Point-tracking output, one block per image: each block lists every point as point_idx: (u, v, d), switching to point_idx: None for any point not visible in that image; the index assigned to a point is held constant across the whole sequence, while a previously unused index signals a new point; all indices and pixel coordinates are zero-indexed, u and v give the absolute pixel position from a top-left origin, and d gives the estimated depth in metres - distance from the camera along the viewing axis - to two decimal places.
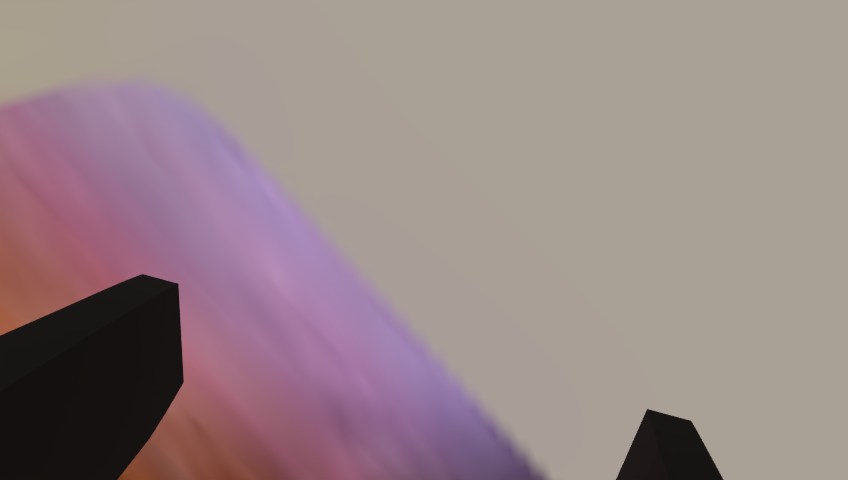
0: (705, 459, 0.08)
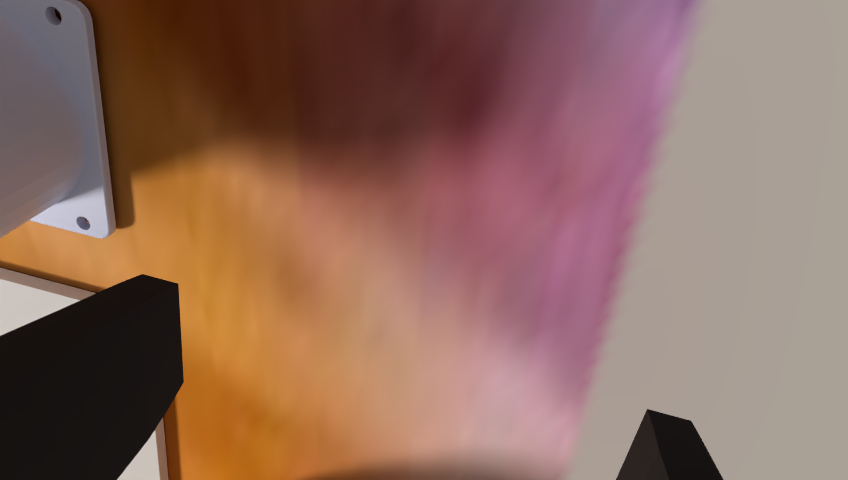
0: (705, 459, 0.08)
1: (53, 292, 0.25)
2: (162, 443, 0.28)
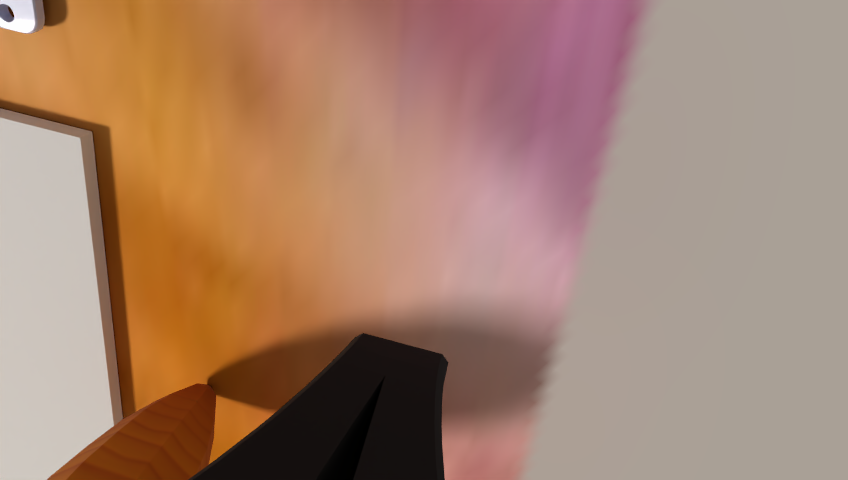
0: (429, 383, 0.09)
1: None
2: (107, 306, 0.25)
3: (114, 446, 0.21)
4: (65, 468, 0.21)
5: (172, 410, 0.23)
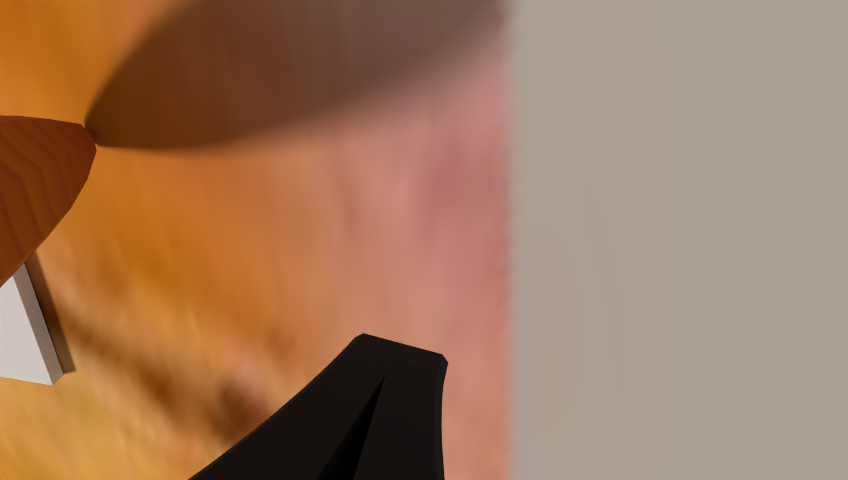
0: (429, 384, 0.09)
1: None
2: None
3: None
4: None
5: (6, 117, 0.17)
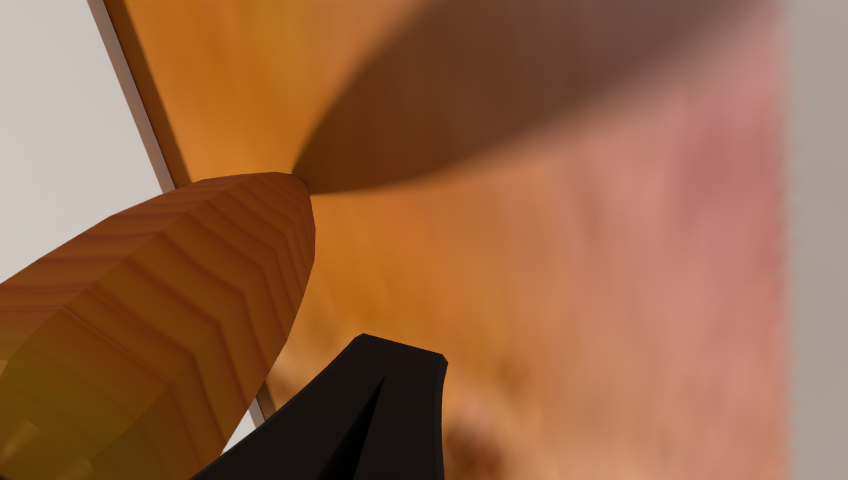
0: (429, 383, 0.09)
1: None
2: (139, 106, 0.19)
3: (158, 200, 0.14)
4: None
5: (240, 176, 0.16)
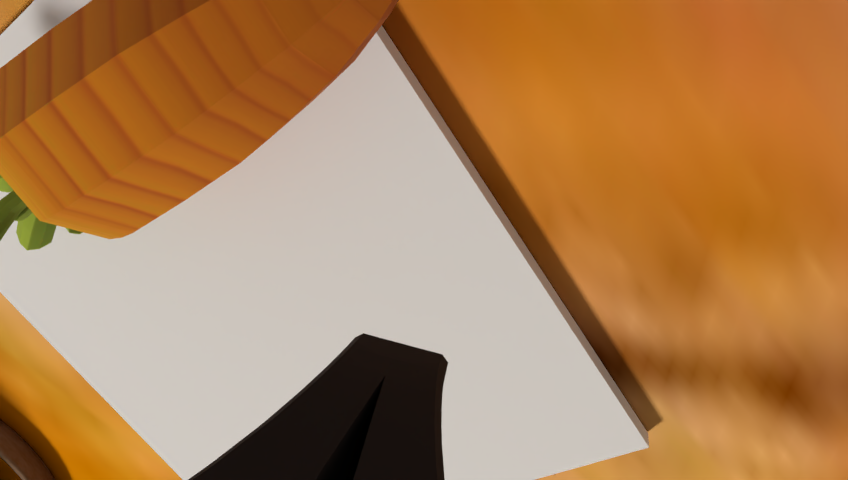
0: (429, 383, 0.09)
1: None
2: (414, 79, 0.17)
3: None
4: None
5: None
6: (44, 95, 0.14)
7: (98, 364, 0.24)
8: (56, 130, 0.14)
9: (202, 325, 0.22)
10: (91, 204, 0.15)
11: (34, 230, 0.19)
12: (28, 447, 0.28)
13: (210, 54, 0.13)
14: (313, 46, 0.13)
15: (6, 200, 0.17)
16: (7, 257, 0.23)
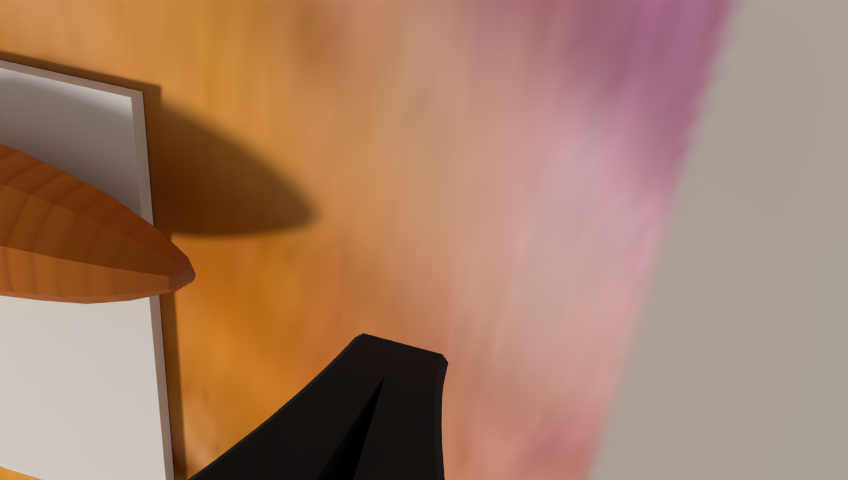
0: (429, 384, 0.09)
1: (21, 72, 0.21)
2: None
3: None
4: None
5: None
6: None
7: None
8: None
9: None
10: None
11: None
12: None
13: (8, 270, 0.19)
14: (78, 298, 0.20)
15: None
16: None
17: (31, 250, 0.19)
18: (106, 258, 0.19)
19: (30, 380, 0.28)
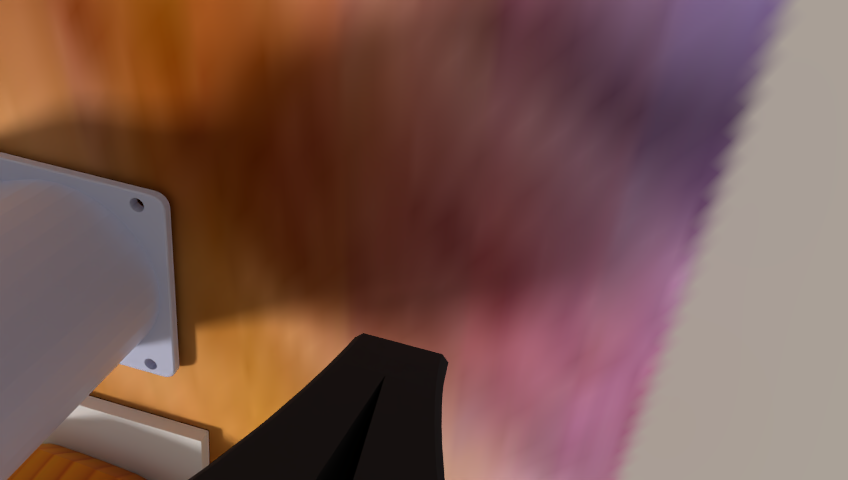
0: (429, 383, 0.09)
1: (118, 415, 0.28)
2: None
3: None
4: None
5: None
6: None
7: None
8: None
9: None
10: None
11: None
12: None
13: None
14: None
15: None
16: None
17: None
18: None
19: None
